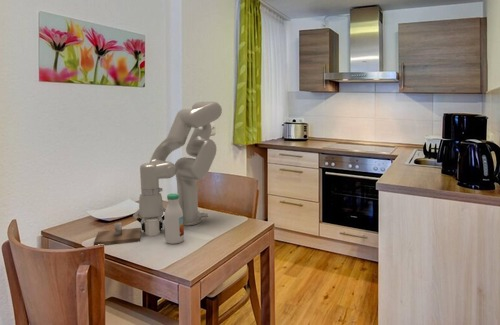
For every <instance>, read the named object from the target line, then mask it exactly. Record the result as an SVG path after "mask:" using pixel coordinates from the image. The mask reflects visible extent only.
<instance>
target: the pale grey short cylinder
mask: <svg viewBox="0 0 500 325" xmlns="http://www.w3.org/2000/svg"><path fill="white" fill-rule="evenodd" d="M144 222H145V233H144V235H145V236H148V235H149V236H148V237H151V235H153V236H157V235H160V233H161V231H160V229H159V218H158V217H149V218H145V220H144Z"/></svg>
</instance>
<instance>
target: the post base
mask: <svg viewBox="0 0 500 325" xmlns="http://www.w3.org/2000/svg"><path fill="white" fill-rule="evenodd" d="M122 225H123V224H122V222H121V221H120V222H118V221H117V222H115V223H113V227H114V228H113V229H114V230H111V229H110V230H102V231H101V230H99V231H97V234H96V236H95V239H94V241H93V246H94V245H98V244H105V245H104V246H108V245H109V244H110V245H117V244H119V245H120V244H128V243H135V242H136V243H137V242H138V241H139V242H141V240H142V239H141V237H142V227H134V228H123V226H122Z"/></svg>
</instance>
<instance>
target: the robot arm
mask: <svg viewBox="0 0 500 325" xmlns="http://www.w3.org/2000/svg"><path fill="white" fill-rule="evenodd" d="M222 112H223V109H222V106H221V105H220V103H219V102H217V101H198V102H195V103H193V104H192V107H191V108H183V109H180V110H179V111H178V112H177V113H176V115H175V117H174V120H173V123H172V125H171V127H170V129H169V132H168V134H167V136H166V138H165V139H164V140H163V141H161V143H160V144H159V145H158V146H157V147H156V148H155V150H154V152H153V153H152V155H151V158H150V160H149V162H147V163H142V164H141V165H140V167H139V171H140V172H139V174H140V191H141V193H140V194H139V197H138V199H139V201H138V208H139V209H137V210H136V211H135V212H134V214H133V215H132V217H133V219H134V220H135V219H136V221H137V222H138V223H140V224H141V231H143V233H144V234H145V218H149V217H158V218H159V229H160V232H162V229H163V227H164V226H163V224H164V223H163V222H164V221H165V220H164V215H165V214H164V213H165V210H166V207H164V203H163V197H162V193H161V192H163V187H160V184H159V183H160V179H161V180H165V179H166V180H167V179H171V178H174V176H175V180H176V188H177V189H176V190H177V191H176V192H177V193H176V194H178V195H179V200H178V202H179V205H180V207H181V209H182V212H183V223H184V226H195V225H198V224H200V223H202V218H208V214H209V213H208V212H200V211H199V204H198V199H199V198H198V182H197V181H200V180H203V179H205V178H206V176H207V175H208V173H209V171H210V169H211V166H212V164H213V162H214V161H215V160H214V159H215V158H216V155H217V144H216V142H215V141H214V140H213V139H211V138H210V137H211V136H212V129H213V128H212V125H211V123H212V122H215V121H216V120H218V119H220V117H221V116H222V114H223V113H222ZM192 128H193V132H191V129H192ZM190 132H191V135H190ZM189 135H190V137H189V140H188V142H187V144H186V141H187V139H188V136H189ZM185 144H186V147H185V152H186V153H187V155H188V156H189V157H186V156H185V157H180V158H178V159H177V160H176V161H175V163H173V162H172V161H166V160H167V158H168V156H169V155H170V154H172V153H173V152H174V151H176V150H178V149H180V148H182V147H183V146H185ZM138 215H139V216H138Z"/></svg>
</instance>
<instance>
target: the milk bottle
mask: <svg viewBox="0 0 500 325" xmlns="http://www.w3.org/2000/svg"><path fill="white" fill-rule="evenodd" d="M166 196H167V197H166V199H167V202H168V203H167V205H166V207H165V209H166V210H165V212H164V214H163V215H164V220H163V221H164V238H165V239H164V240H165V243H167V244H171V245H172V244H173V245H174V244H180V243H182V242H184V240H185V230H184V229H185V228H184V223H183V212H182V209H181V207H180V205H179V202H178V200H179V195H178V194H177V193H169V194H167V195H166Z"/></svg>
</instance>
